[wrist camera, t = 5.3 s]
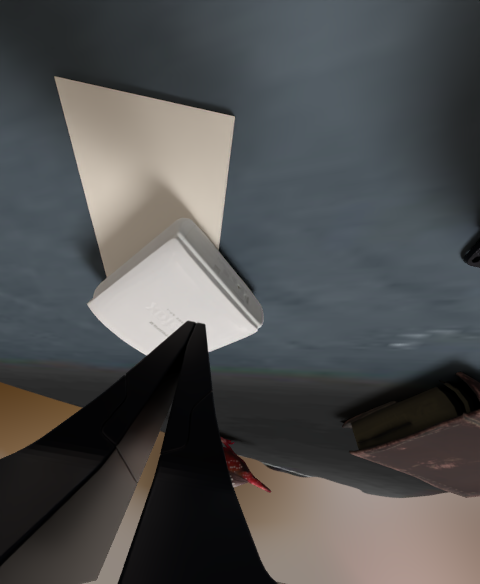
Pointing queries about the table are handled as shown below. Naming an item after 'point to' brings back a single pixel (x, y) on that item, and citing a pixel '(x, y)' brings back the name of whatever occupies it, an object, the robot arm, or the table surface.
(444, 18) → the table surface
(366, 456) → the diary
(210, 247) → the photo printer
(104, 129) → the mat
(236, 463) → the decorative bird figurine
